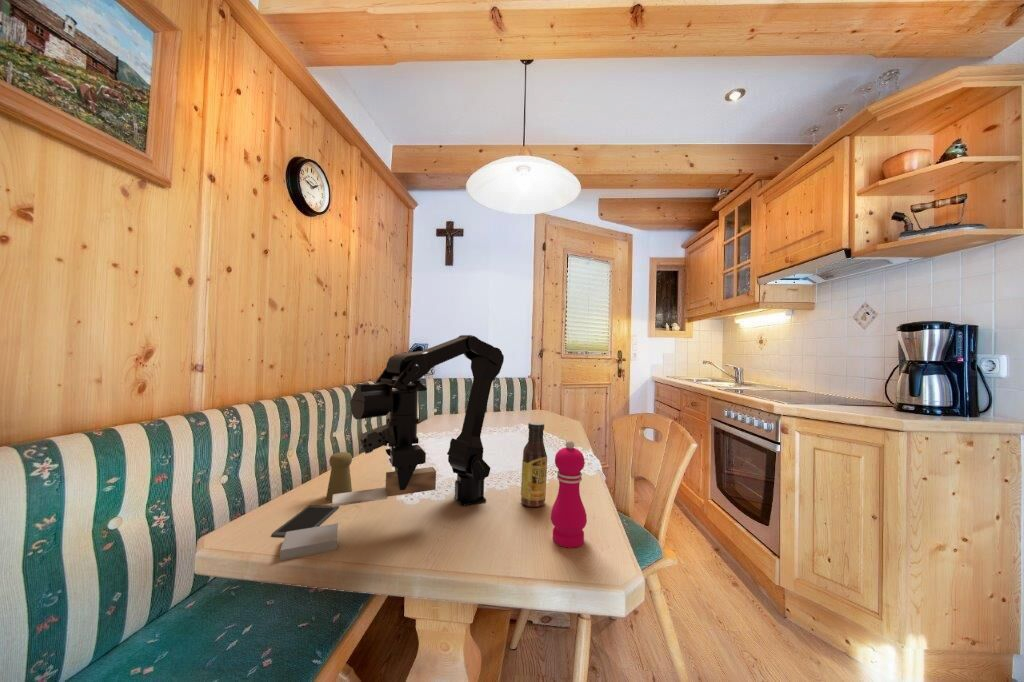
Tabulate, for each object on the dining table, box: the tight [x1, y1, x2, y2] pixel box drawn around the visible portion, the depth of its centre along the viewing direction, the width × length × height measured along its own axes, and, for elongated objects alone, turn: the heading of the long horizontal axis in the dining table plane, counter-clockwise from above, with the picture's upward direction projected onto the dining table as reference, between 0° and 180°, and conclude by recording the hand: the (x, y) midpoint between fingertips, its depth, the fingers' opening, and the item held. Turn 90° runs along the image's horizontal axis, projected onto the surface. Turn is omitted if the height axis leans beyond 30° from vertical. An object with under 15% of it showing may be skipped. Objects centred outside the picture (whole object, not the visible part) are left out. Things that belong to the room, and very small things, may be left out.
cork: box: [325, 451, 353, 503], centre depth 89 cm, size 6×6×11 cm
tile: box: [279, 523, 339, 561], centre depth 67 cm, size 2×7×9 cm
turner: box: [331, 466, 437, 507], centre depth 73 cm, size 20×5×4 cm, turn 115°
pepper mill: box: [550, 439, 588, 549], centre depth 72 cm, size 7×7×20 cm
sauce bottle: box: [520, 421, 548, 508], centre depth 89 cm, size 7×6×20 cm
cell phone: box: [271, 504, 340, 538], centre depth 77 cm, size 7×14×1 cm, turn 0°
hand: (401, 486), depth 75 cm, fingers closed on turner, 3 cm apart
